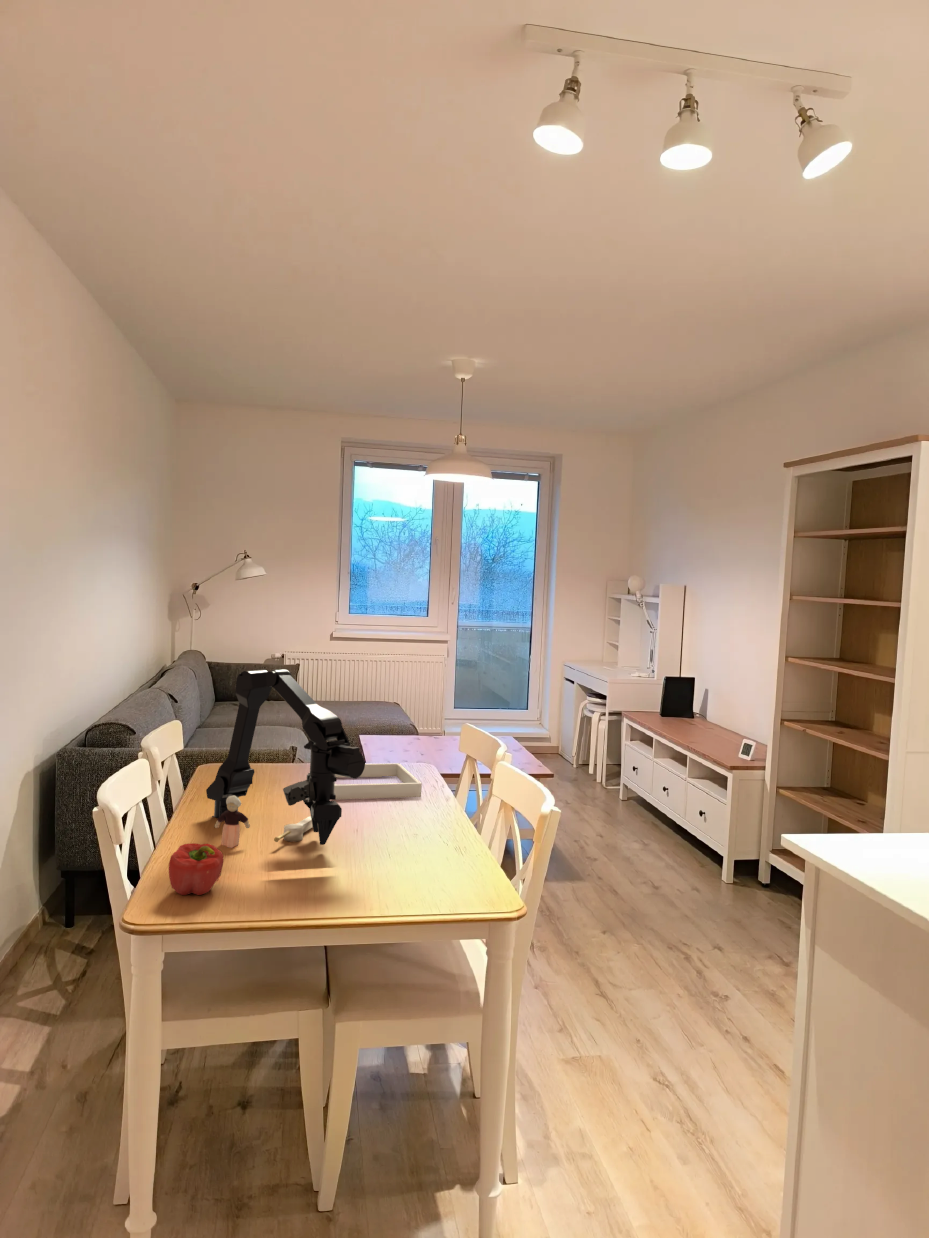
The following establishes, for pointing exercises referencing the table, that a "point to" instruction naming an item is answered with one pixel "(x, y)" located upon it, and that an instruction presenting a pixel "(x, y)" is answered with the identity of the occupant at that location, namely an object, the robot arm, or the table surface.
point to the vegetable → (195, 868)
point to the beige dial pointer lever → (295, 830)
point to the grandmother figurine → (232, 822)
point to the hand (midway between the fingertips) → (319, 838)
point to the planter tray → (387, 790)
